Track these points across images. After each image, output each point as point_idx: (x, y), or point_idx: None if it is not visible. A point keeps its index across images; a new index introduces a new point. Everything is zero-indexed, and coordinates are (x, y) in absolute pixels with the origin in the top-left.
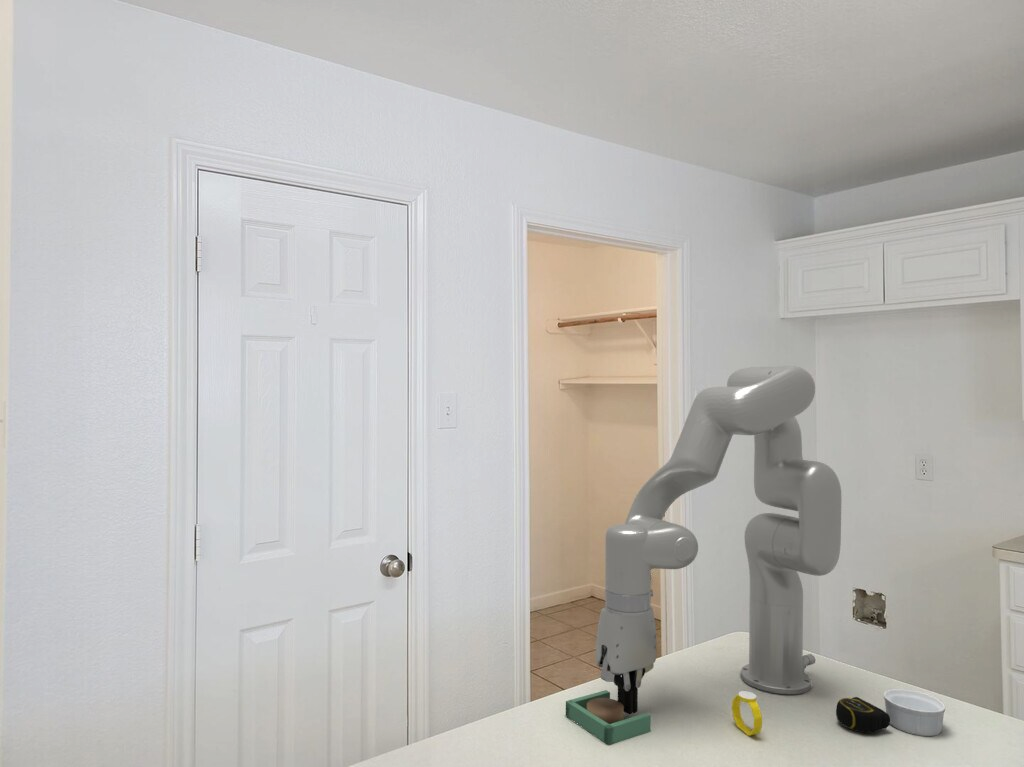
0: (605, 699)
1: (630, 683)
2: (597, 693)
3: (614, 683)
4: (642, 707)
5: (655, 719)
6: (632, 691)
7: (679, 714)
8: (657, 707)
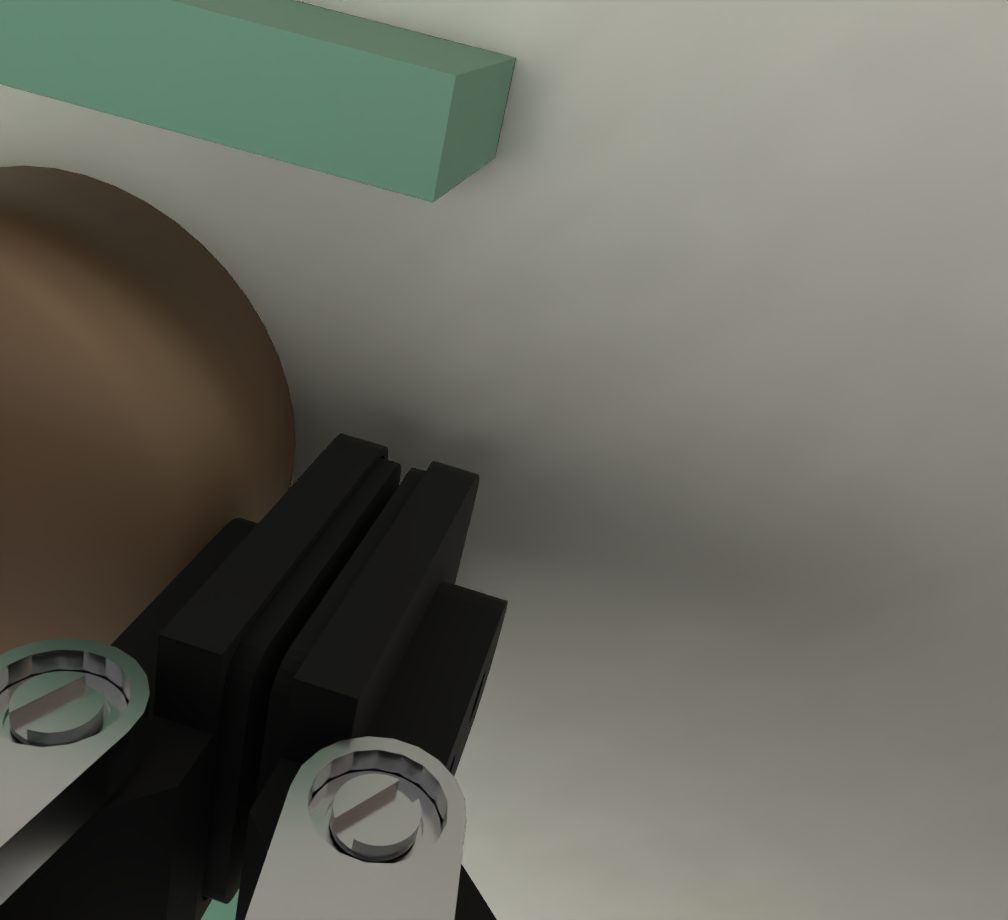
0: (53, 391)
1: (242, 917)
2: (185, 50)
3: (2, 659)
4: (835, 519)
5: (632, 757)
6: (198, 911)
7: (954, 900)
8: (978, 661)
